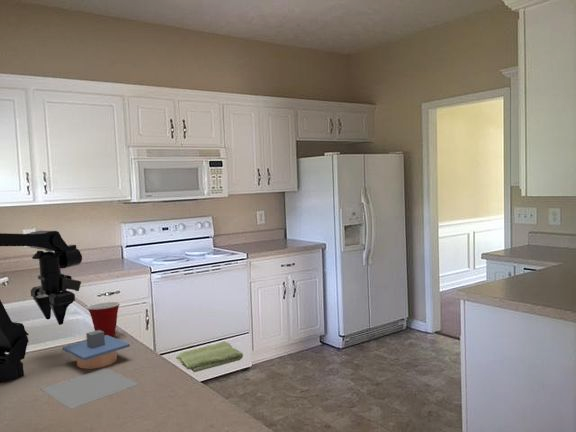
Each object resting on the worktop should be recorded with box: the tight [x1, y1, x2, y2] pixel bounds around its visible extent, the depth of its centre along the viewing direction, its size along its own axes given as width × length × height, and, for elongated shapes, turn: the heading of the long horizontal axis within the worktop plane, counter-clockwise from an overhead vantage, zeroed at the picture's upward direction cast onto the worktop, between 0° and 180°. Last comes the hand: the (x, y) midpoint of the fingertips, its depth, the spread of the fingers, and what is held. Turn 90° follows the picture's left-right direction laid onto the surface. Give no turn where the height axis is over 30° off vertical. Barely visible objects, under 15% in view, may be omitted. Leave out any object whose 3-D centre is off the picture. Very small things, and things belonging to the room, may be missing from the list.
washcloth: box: [175, 341, 244, 373], centre depth 153 cm, size 13×18×3 cm
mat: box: [40, 367, 139, 410], centre depth 134 cm, size 18×18×1 cm
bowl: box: [75, 351, 118, 370], centre depth 152 cm, size 11×11×5 cm
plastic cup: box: [86, 301, 121, 338], centre depth 177 cm, size 11×11×12 cm
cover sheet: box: [62, 330, 131, 360], centre depth 152 cm, size 14×14×5 cm
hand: (54, 321), depth 157 cm, fingers open, 9 cm apart
